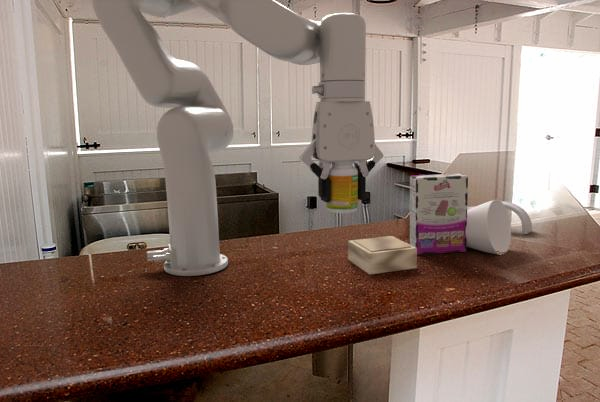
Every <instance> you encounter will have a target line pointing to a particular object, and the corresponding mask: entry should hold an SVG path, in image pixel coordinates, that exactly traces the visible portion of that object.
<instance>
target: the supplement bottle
mask: <svg viewBox="0 0 600 402" xmlns="http://www.w3.org/2000/svg"><path fill="white" fill-rule="evenodd" d="M353 163H354V161H351V162H332V164H331V167H330V171H329V174H328V179H330V180H331V201H330V202H328V203H326V210H327V212H330V213H333V214H334V213H335V214H350V213H355V212H357V210H358V200H359V199H358V170H357V169H356V168H355V167H354V165H353Z"/></svg>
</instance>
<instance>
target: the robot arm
mask: <svg viewBox="0 0 600 402" xmlns="http://www.w3.org/2000/svg"><path fill="white" fill-rule="evenodd" d="M91 4H92V8H93V11H94V14H95V17H96V18H97V21H98V23H99V25H100V27H101V28H102V30H103V32H104V33H105V35H106V36H107V37H108V40H109V41H110V42H111V44H112V45H113V48H114V49H115V51H116V52H117V55H118V56H119V57H120V59H121V62H122V64H123V65H124V67H125V70H127V71H126V72H128V74H129V76H130V78H131V79H132V81H133V83H134V84H135V87H136V89H137V91H138V93H139V94H140V95H141V98H142V99H143V100H144V101H145V102H146V103H147V104H148V105H150V106H152V107H156V108H163V109H164V108H166V109H167V108H168V109H169V110H167V111H166V112H164V113H163V114H162V116H161V117H160V118H159V120H158V122H157V126H156V140H157V143H158V148H159V152H160V155H161V159H162V165H163V171H164V179H165V191H166V202H167V203H166V205H167V217H168V228H169V229H168V230H169V243H168V244H167V245H168V247H163V250H149V251H148V250H147V251H146V257H147V262H152V261H153V262H154V263H155V264H156V263H161V262H164V263H163V270H164V271H165V273H167V274H170V275H173V276H180V277H195V276H203V275H205V276H206V275H210V274H214V273H217V272H220V271H222V270H224V269H225V268H226V267H227V266H228V264H229V259H228V257H227V256H226V255H225V254H221V253H220V249H221V248H220V236H219V233H220V231H219V217H218V216H219V215H218V200H217V196H218V195H217V185H216V184H217V183H216V182H217V181H216V173H215V169H214V165H213V163H212V160H211V158H210V155H209V154H213V153H218V152H222V151H224V150H225V149H226V148H228V147H229V145H230V144H231V143H232V140H233V139H234V138H233V137H234V125H233V121H232V118H231V116H230V114H229V112H228V110H227V108H226V107H225V105H224V103H223V102H222V100H221V98H220V96H219V94H218V92H217V90H216V89H215V87H214V85H213V83H212V82H211V80H210V79H209V77H208V75H207V74H206V73H205V72H204V70H203V69H202V68H201V67H199V66H198V65H197V64H195V63H193V62H190V61H187V60H183V59H177V58H175V57H174V56H173V55H172V54H171V53H170V52H169V50H168V48H167V47H166V45H165V44H164V42H163V39H161V36H160V34H159V33H158V32H157V30H156V29H155V27H154V26H153V25H152V24H151V23H150V22H149V21H148V19H146V18H145V16H144V15H143V14H145V15H149V16H153V17H155V18H158V17H159V18H166V17H171V16H175V15H178V14H181V13H185V12H187V11H190V10H193V9H197V8H199V7H200V8H202V9H203V10H205V11H206V12H208V13H209V14H211V15H212V16H214V17H215V18H216V19H218V20H219V21H221V22H222V23H223V24H224V25H225V26H226V27H228V28H229V29H231V30H232V31H233V32H234V33H235V34H237V35H238V36H240V37H241V38H242V39H244V40H246V41H247V42H249V43H250V44H252V45H254V46H255V47H256V48H258V49H259V50H261V51H262V52H264V53H265V54H267V55H269V56H270V57H272V58H275V59H276V60H279V61H283V62H288V63H291V64H295V65H299V66H300V65H301V66H309V65H315V64H319V82H318V84H317V85H314V86H313V85H312V87H311V94H312V95H316V96H318V99H319V101H316V103H315V109H314V114H313V121H312V127H311V128H312V130H311V142H310V143H309V145H308V146H306V149H305V150H304V151H303V152H302V153H301V154H300V156H299V161H300V162H301V163H302V164H304V166H306V167H307V168H308V169H309V170H310V171H311V172H312V173H313V174H314V175H315V176H316V177H317V179H318V181H317V183H318V185H317V186H318V192H317V193H318V197H320V200H321V201H323V202H324V203H326V204H327V203H328V202H330V201H331V180H330V179H328V174H329V171H330V167H331V166H332V162H351V161H354V163H352V165H353V167H355V168H356V169H357V170H358V200H359V201H364V199H365V196H364V195H365V194H366V189H367V188H366V187H367V186H366V185H367V182H366V178H367V177H368V176H369V174H370V172H371V171H372V170H373V169H374V168H375V166H376V165H377V164H378V163H379V162H380V161H381V159H383V157H384V154H383V152H382V151H381V149H380V148H379V147H378V146H377V144H376V139H375V127H374V126H375V124H374V117H373V112H372V106H371V101H370V100H367V101H366V50H367V49H366V48H367V47H366V46H367V45H366V43H367V42H366V40H367V35H366V34H367V29H366V28H367V27H366V21H365V18H364V17H363V16H362V15H361V14H357V13H353V12H339V13H332V14H327V15H326V16H324V17H323V18H321V21H320V20H319V21H315V20H313V19H310V18H306V17H305V16H303V15H302V14H299V13H297V12H295V11H293V10H291V9H289V8H287V6H285V5H283V4H281V3H280V2H278V1H276V0H91ZM312 158H313V159H315V160H319V161H318V163H316V162H315V161H314V160H313V159H312Z"/></svg>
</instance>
